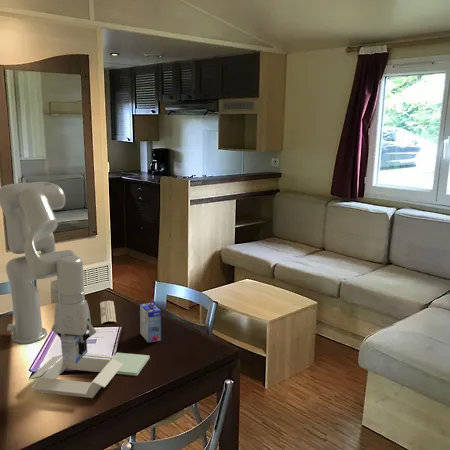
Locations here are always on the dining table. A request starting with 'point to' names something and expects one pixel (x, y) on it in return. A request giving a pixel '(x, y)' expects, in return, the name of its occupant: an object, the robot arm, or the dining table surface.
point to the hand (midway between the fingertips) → (74, 351)
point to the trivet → (131, 363)
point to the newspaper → (107, 311)
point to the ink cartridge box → (150, 322)
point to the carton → (76, 388)
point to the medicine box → (71, 349)
